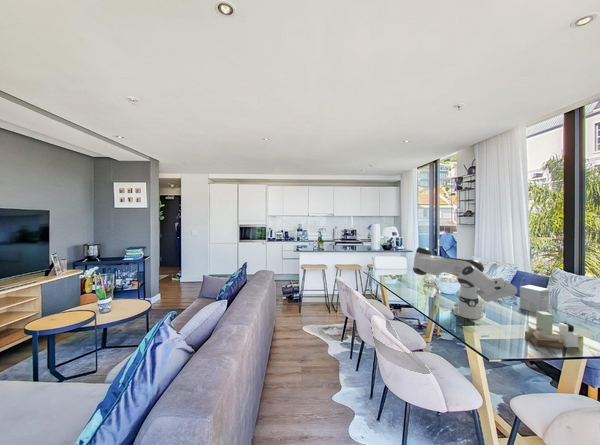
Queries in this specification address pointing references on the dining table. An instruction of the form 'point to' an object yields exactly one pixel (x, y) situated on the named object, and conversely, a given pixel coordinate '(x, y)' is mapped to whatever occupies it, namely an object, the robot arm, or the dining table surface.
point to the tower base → (543, 342)
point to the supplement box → (534, 298)
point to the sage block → (544, 321)
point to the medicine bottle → (567, 335)
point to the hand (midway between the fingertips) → (508, 301)
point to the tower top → (543, 334)
